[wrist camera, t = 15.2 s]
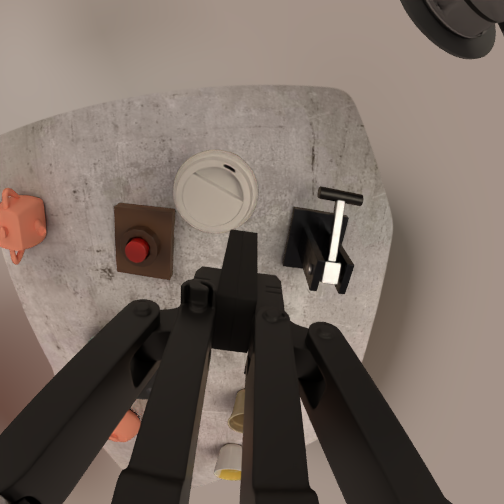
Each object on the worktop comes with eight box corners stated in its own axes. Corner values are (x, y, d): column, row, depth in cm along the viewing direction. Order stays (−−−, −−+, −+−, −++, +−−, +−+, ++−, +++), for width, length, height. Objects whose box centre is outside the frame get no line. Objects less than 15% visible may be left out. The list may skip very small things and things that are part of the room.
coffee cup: (269, 179, 45) (276, 206, 31) (220, 214, 47) (206, 255, 34) (231, 129, 42) (220, 133, 28) (182, 167, 44) (150, 190, 30)
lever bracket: (293, 206, 47) (306, 236, 35) (346, 215, 47) (374, 247, 35) (282, 262, 51) (289, 306, 39) (332, 269, 51) (352, 312, 40)
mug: (215, 438, 76) (212, 468, 66) (250, 440, 76) (249, 470, 66) (217, 456, 81) (215, 482, 72) (248, 458, 82) (247, 484, 72)
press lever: (317, 187, 39) (322, 185, 36) (358, 195, 39) (365, 194, 37) (303, 277, 40) (307, 281, 38) (344, 282, 40) (350, 286, 38)
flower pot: (230, 381, 64) (227, 411, 56) (271, 384, 64) (273, 413, 56) (229, 404, 68) (227, 432, 60) (267, 406, 68) (268, 434, 60)
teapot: (35, 169, 43) (1, 182, 34) (66, 219, 47) (35, 240, 38) (4, 210, 46) (-26, 227, 37) (32, 254, 51) (4, 277, 41)
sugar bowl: (149, 416, 72) (142, 445, 62) (130, 429, 76) (122, 454, 67) (112, 395, 68) (101, 423, 59) (97, 410, 73) (86, 435, 63)
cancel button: (128, 236, 45) (124, 240, 43) (149, 238, 45) (145, 243, 44) (129, 256, 46) (125, 261, 45) (149, 259, 47) (146, 264, 45)
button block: (119, 202, 46) (109, 209, 43) (175, 208, 47) (169, 216, 43) (121, 265, 51) (113, 276, 48) (172, 273, 52) (167, 285, 48)
